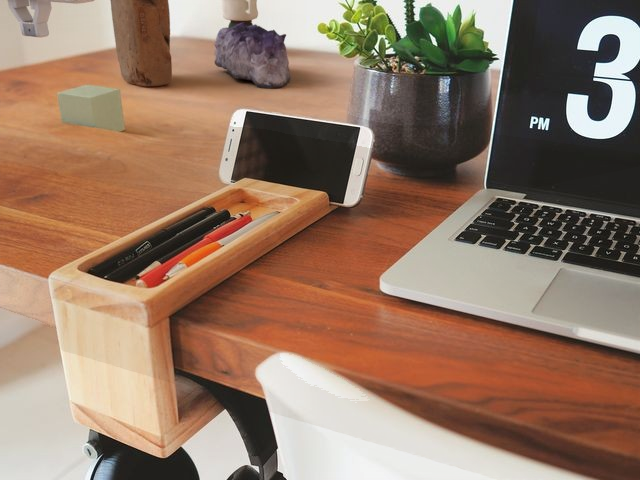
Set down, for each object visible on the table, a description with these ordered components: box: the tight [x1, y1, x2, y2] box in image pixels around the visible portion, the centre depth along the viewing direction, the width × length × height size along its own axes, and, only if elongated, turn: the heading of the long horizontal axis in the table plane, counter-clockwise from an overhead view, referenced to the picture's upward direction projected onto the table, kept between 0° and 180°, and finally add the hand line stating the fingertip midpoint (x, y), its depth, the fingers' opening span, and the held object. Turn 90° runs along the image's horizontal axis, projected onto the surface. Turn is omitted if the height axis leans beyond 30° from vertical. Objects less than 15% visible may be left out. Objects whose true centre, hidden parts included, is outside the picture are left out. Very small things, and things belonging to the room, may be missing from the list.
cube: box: [56, 84, 126, 133], centre depth 95 cm, size 6×6×6 cm
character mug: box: [221, 0, 259, 28], centre depth 147 cm, size 11×7×13 cm, turn 35°
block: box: [110, 0, 173, 87], centre depth 119 cm, size 11×8×20 cm
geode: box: [213, 22, 291, 89], centre depth 127 cm, size 20×12×10 cm, turn 31°
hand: (36, 36), depth 94 cm, fingers closed
